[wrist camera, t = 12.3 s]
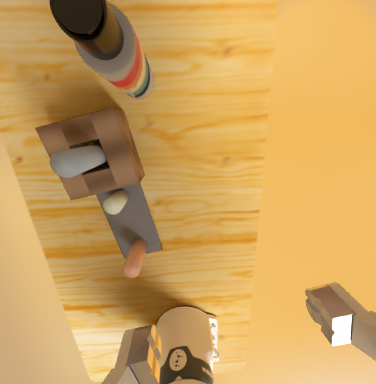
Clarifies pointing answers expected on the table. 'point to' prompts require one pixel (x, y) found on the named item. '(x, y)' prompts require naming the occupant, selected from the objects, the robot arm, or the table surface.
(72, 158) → the pin long
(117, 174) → the socket block
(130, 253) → the pin medium
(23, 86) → the table surface
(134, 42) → the lotion bottle
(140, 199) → the mat
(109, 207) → the pin short
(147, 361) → the robot arm
